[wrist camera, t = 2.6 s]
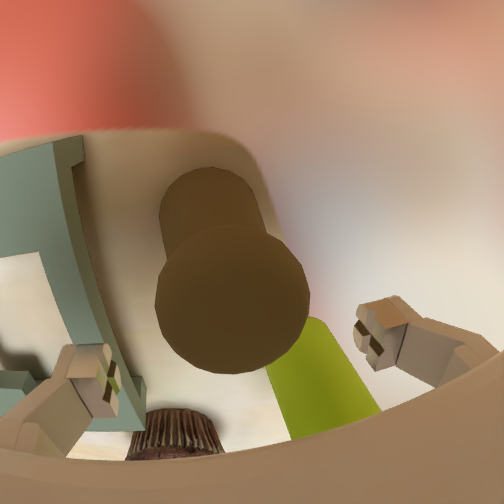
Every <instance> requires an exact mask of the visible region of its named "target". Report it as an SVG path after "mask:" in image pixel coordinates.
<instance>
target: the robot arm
mask: <svg viewBox="0 0 504 504" xmlns="http://www.w3.org/2000/svg"><path fill="white" fill-rule="evenodd" d="M356 316H357V317H358V319H359V320H358V321H357V323H356V324H355V325H354V331H353V336H354V342H355V344H356V346H357V348H358V349H359V351H361V352H363V353H365V354H367V355H366V360H367V362H368V363H369V364H370V366H371V367H372V368H373V370H374V371H375V372H376V371H379V370H382V369H386V368H389V367H392V366H395V365H396V367H398V368H399V369H402V370H403V371H405V372H407V373H409V374H410V375H412V376H414V377H416V378H418V379H420V380H421V381H423V382H425V383H427V384H429V385H431V386H433V387H435V389H433V390H431V391H429V392H427V393H425V394H422V395H421V396H418V397H416V398H414V399H411V400H409V401H407V402H404V403H402V404H400V405H397V406H395V407H393V408H390V409H388V410H385V411H382V412H380V413H377V414H375V415H372V416H369V417H366V418H364V419H361V420H358V421H355V422H352V423H349V424H346V425H343V426H340V427H337V428H334V429H330V430H327V431H324V432H320V433H317V434H313V435H310V436H306V437H302V438H298V439H294V440H290V441H286V442H282V443H277V444H273V445H268V446H263V447H258V448H253V449H247V450H242V451H236V452H229V453H223V454H215V455H208V456H199V457H189V458H178V459H164V460H140V461H107V460H85V459H71V458H66V456H67V454H68V453H69V452H70V450H71V449H72V448H73V446H74V445H75V444H76V442H77V441H78V439H79V438H80V437H81V435H82V434H83V433H84V431H85V430H86V429H87V427H88V426H89V425H90V423H91V422H92V421H93V418H117V415H118V406H119V400H118V398H117V396H116V395H117V394H118V393H119V392H120V390H121V376H120V372H119V368H118V366H117V363H115V362H114V361H113V360H111V357H112V351H111V349H110V346H109V345H108V344H107V343H92V344H71V345H65V346H63V348H62V350H61V352H60V355H59V358H58V360H57V363H56V365H55V368H54V371H53V373H52V376H51V379H46V380H45V381H43V382H42V383H41V384H40V385H39V386H37V387H36V388H35V389H34V390H33V391H31V392H30V393H29V394H28V395H27V396H25V397H24V398H23V399H22V400H21V401H20V402H18V403H17V404H16V405H15V406H14V407H13V408H11V409H10V410H9V411H8V412H7V413H6V414H4V415H3V416H2V417H1V419H0V504H504V350H503V351H501V352H499V351H497V349H496V348H494V347H493V346H492V345H491V344H490V343H489V342H488V341H487V340H486V339H485V338H483V337H482V336H481V335H479V334H476V333H473V332H470V331H467V330H464V329H461V328H457V327H454V326H451V325H448V324H445V323H442V322H439V321H436V320H433V319H429V318H422V317H421V316H420V315H419V314H418V313H417V312H415V311H414V310H413V309H412V308H411V307H410V306H409V305H408V304H407V303H405V301H403V300H402V299H401V298H400V297H399V296H395V295H394V296H391V297H387V298H384V299H382V300H378V301H373V302H369V303H365V304H360V305H359V306H358V308H357V311H356Z"/></svg>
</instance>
